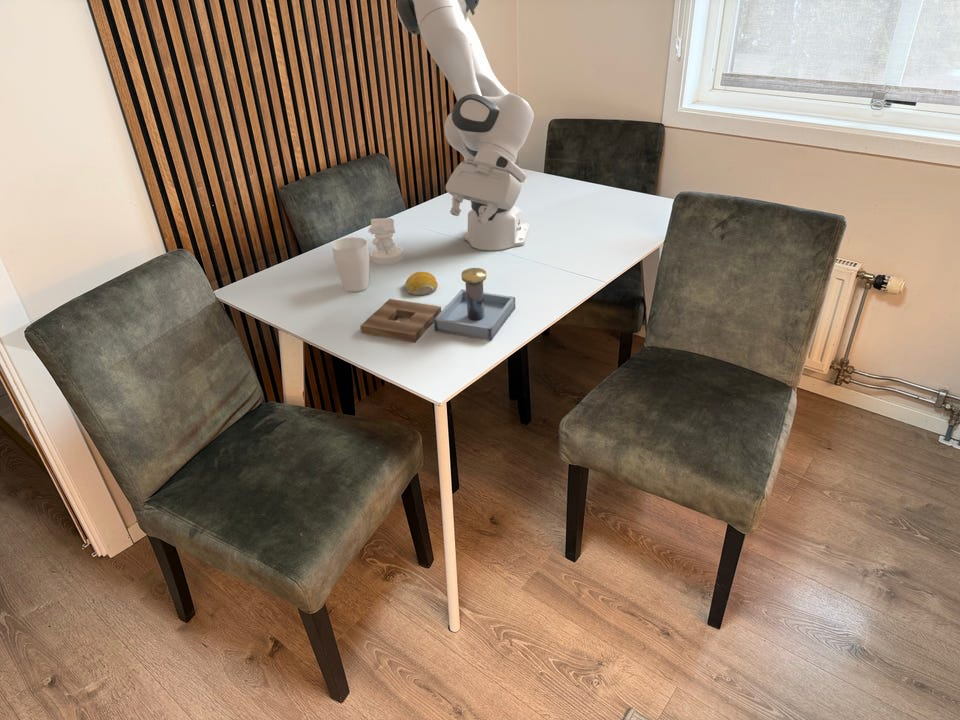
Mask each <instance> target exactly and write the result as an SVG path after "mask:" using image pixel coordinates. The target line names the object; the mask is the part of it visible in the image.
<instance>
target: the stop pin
mask: <svg viewBox="0 0 960 720" xmlns="http://www.w3.org/2000/svg"><path fill="white" fill-rule="evenodd" d="M460 274H461V280H462V282H464V283H465V290H466V299H467V315H468V319H470V320H473V321H478V320H481V319H483V318H484V317H485V315H484V293H485V292H484V282H485V280H487V271H486V270H485V269H483V268H480V267H471V268H466V269H464V270H463V271H461V273H460Z"/></svg>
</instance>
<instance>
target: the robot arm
mask: <svg viewBox="0 0 960 720" xmlns="http://www.w3.org/2000/svg"><path fill="white" fill-rule="evenodd" d="M479 2H480V0H396V2H395V5H396V12H397V17H398V19H399V22H400V23H401V24H402V26H403V27H404V28H405V29H406V30H407V32H408V33H411V34H412V35H421V37H422V40H423V42H424V44H425V46H426V49H427V51H428V52H429V54H430V55H431V57H432V59H433V60H434V62H435V63H436V65H437V66H438V68H439V70H440V71H441V73H442V74H443V75H444V78H446V80H447V82H448V83H449V85H450V87H451V89H452V91H453V93H454V96H455V99H456V101H457V102H455V104H454V105H453V107H452V111H451V113H449V114H448V115H447V117H446V119H445V122H444V134H445V138H446V141H447V142H448V144H449V146H451V148H453V149H455V150H456V151H458V152H459V153H460V154H461V155H462V157H464V159H465V160H464V161H460V163H459V164H458V165H457V166H456V167H455V169H454V170H453V172H452V173H451V175H450V177H449V178H448V180H447V182H446V183H445V191H446V192H447V193H448V194H449V195H451V196H452V198H451V199H452V203H451V204H452V207H451V208H450V211H449V214H451V215H453V216H455V217H459V216H460V214H461V211H462V209H460V205H461V203H463V201H464V200H465V201H470V208H471V209H470V210H469V211H468V212H467V232H466V233H465V234H464V235H463V240H465V241H467V242H468V243H469V245H470V246H471V247H473V248H474V249H479V250H482V251H500V250H501V251H503V250H507V249H510V248H513V247H520V246H524V245H525V244H526V240H527V237H528V235H529V232H528V231H530V228H531V226H530V223H528V222H525V221H523V211H522V210H521V209H520V208H519V207H518V206H516V205H515V204H516V202H517V201H518V199H519V195H520V194H521V191H522V186H523V185H522V183H524V182H525V180H526V179H527V174H526V173H525V172H524V170H522V169H521V168H520V167H519V166H518V165H517V164H516V161H517V158H518V154H519V151H520V149H521V148H522V147H523V146H524V145H525V142H526V140H527V138H528V137H529V133H530V131H531V129H532V125H533V122H534V118H535V114H534V110H533V108H532V106H531V104H530V103H529V102H528V101H527V99H525V98H524V97H522V96H521V95H519V94H517V93H513V92H509V90H507V89H506V88H505V87H504V86H503V85H502V84H501V83H500V81H499V80H498V78H497V77H496V75H495V74H494V71H493V70H492V68H491V66H490V62H489V61H488V59H487V55H486V53H485V50H484V48H483V46H482V45H483V44H482V43H481V42H482V41H480V40H481V39H480V38H479V35H478V33H477V31H476V29H475V28H474V26H473V23H472V22H471V21H470V19H469V16H468V13H469V11H470V14H471V15H472V16H474V15H475V13H476V12H475V9H477V6H478V4H479ZM527 234H528V235H527Z"/></svg>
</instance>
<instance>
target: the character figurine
mask: <svg viewBox="0 0 960 720" xmlns="http://www.w3.org/2000/svg"><path fill="white" fill-rule="evenodd" d="M367 231H368V233H370V234H371V235H374V237H375V238H372V244H373V246H375V247H376V248H375V249H374V250H372V251H371V260H372V262H373V263H375V264H377V265H385V266H386V265H387V266H388V265H393V264H396V263H397V264H398V263H399V262H401V261H403V259H404V253H403V249H402V248H401V247H399V246H395V245H396V243H395V242H394V240H393V238H392V237H393V236H394V234H395V233H396V229H395V220H394V219H393V218H391V217H384V218H381V217H380V218H371V219H370V227H369V228H368V230H367Z"/></svg>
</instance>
